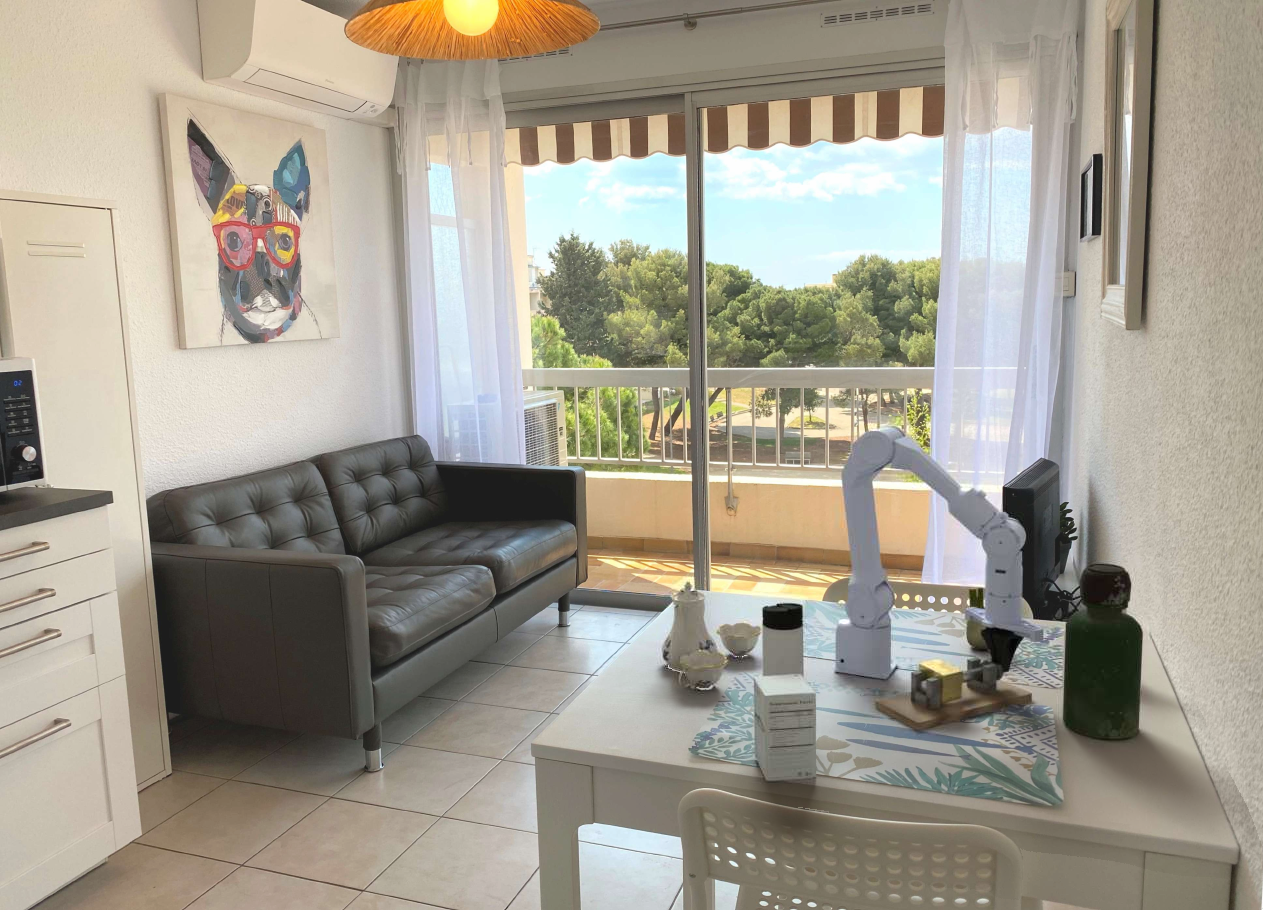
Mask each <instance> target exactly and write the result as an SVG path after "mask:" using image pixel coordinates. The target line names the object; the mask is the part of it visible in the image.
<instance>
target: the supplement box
mask: <svg viewBox="0 0 1263 910" xmlns="http://www.w3.org/2000/svg"><path fill="white" fill-rule="evenodd" d="M816 697H817V695H816V692H815V690H814V689H813V688H812V686H811V685H810V684H809V682H808V681H807V680H806V678H805V677H803V676H802V674H788V675H774V676H763V675H762V676H754V677H753V704H754V705H753V707H754V708H753V709H754V710H753V717H754V718H753V721H754V724H753V725H754V729H753V730H754V759H755V758H756V759H757V760H756V759H755V760H756V762H757V761H758V762H757V764H758V763H759V764H758V766H759V768H760V770H761V772H762V774H763V776H764V778H765V781H767V782H776V781H777V782H778V781H779V782H780V781H789V780H791V781H793V780H805V779H806V780H807V778H808V779H815V778H816V777H817V698H816ZM814 777H815V778H814Z"/></svg>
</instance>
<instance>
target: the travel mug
mask: <svg viewBox="0 0 1263 910" xmlns="http://www.w3.org/2000/svg"><path fill="white" fill-rule="evenodd" d="M761 609H762V612H761V613H762V617H761V618H762V623H761V627H762V631H761V635H762V637H761V638H762V642H761V643H762V645H761V647H762V676H774V675H788V674H802V676H803V677H804V676H805V675H804V674H805V673H804V665H805V664H804V612H803V611H804V607H803V605H802V604H800V603H795V602H794V603H793V602H780V603H776V604H775V605H774V604H773V605H765V606H763V607H762V608H761ZM804 678H805V677H804Z"/></svg>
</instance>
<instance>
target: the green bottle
mask: <svg viewBox="0 0 1263 910" xmlns="http://www.w3.org/2000/svg"><path fill="white" fill-rule="evenodd" d="M1131 592H1132V580H1131V576H1130V573H1129V572H1128V571H1126V568H1125V567H1123V566H1121V565H1118V564H1111V563H1091V564H1087V565H1086V567H1085V568H1084V569H1083V570H1082V572H1081V574H1080V578H1079V597H1080V598H1081V604H1082V605H1083V606H1084V607H1086V608H1084V609H1080V610H1077V611H1075V612H1074V613H1073V614H1072V615H1070V616H1069V617H1068V618H1067V620H1066V622H1065V637H1064V639H1065V640H1064V666H1063V667H1064V669H1063V700H1062V703H1063V704H1062V721H1063V722H1064V724H1065V725H1066V727H1068V728H1069V729H1070V730H1071V731H1074V732H1076V733H1078V734H1081V735H1084V736H1087V737H1092V738H1096V739H1100V740H1101V739H1103V740H1123V739H1127V738H1132V737H1134V736H1135V735H1137V734H1138V732H1139V730H1140V713H1141V712H1140V711H1141V708H1140V707H1141V685H1142V665H1143V664H1142V661H1143V660H1142V659H1143V644H1144V643H1143V642H1144V641H1143V640H1144V638H1143V637H1144V632H1143V629H1142V625H1141V624H1140V623H1139V622H1138V621H1137V620H1136V619H1135V618H1134V617H1133V616H1132V615H1130V614H1125V613H1123V612H1122V610H1124V609H1126V610H1127V609H1128V608H1129V603H1130V601H1131V595H1132V594H1131Z"/></svg>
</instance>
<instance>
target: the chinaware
mask: <svg viewBox="0 0 1263 910" xmlns="http://www.w3.org/2000/svg"><path fill="white" fill-rule="evenodd" d="M683 586H684V587H682V588H680V590H679V592H674V593H673V594H671V595H670V598H671V600H672V604H673V613H674V614H673V622H672V624H671V625H672V626H671V629H670V631H669V633H668V636H667V637H666V639H665V640H664V642H663V644H662V646H661V653H662V659H663V661H665V662H666V664H667V666H668V665H669V667H670V668H672V669H674V670H677V671H681V673H679V675H678V683H679V685H680V686H681V687H682V688H688V686H690V689H691V690H694V689H696V688H695V687H696V686H697V687H699V688H709V687H710V686H711V685H713V686H714V685H715V684H717V682H718V681H720V679H721V678H722V676H723V674H724V670H725V667H726V665H728V664H729V659H727V657H726V655H725V654H724V653H723V652H720V651H718V648H717V647H718V646H717V644H716V642H715V640H714V639H713V637H712V636H711V634H710V632H709V630H708V629H707V626H706V621H705V599H706V597H707V595H706V594H705V593H702V592H701V591H698V590H697V588H695V587H693V585H692V584H691V582H690V581H686V582H685V584H684V585H683ZM762 628H763V627H762V626H760V625H754V626H753V625H752V624H750V623H749V622H745V621H742V622H737V623H734V624H733V625H732V624H728V623H722V624H721V625H720V626H719V627H718V629H716V634H717V635H719V637H720V641H721V643H722V645H723V647H724V648H725V649H726V650H727V651H728V652H729V653H731V654H733V655H734V657H735V656H737V657H738V656H739V657H742V656H744V655H746V654H747V655H748V654H749V653H750V652H752V651H753V650H755V647H756V646H757V644H758V641H759V637H760V635H762ZM684 672H685V674H683V673H684ZM683 675H685V676H686V678H687V680H689V682H688V683H687V684H686V685H684V684H683V683H682V677H683Z"/></svg>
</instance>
